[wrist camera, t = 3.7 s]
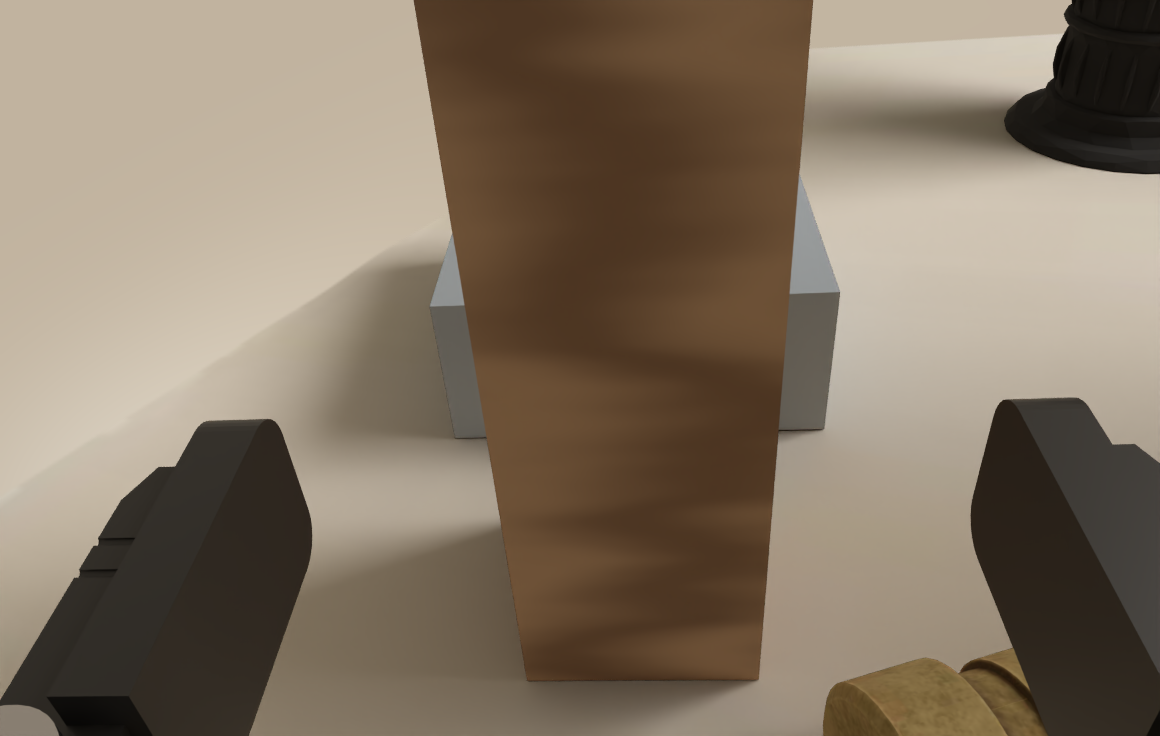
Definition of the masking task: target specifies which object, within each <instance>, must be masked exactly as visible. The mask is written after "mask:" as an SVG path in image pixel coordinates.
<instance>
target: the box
mask: <svg viewBox="0 0 1160 736" xmlns="http://www.w3.org/2000/svg"><path fill="white" fill-rule="evenodd" d="M839 298H840V290H839V287H838V284H837V281H836V278H835V276H834V273H833V270H832V267H831V264H830V261H829V258H828V255H827V252H826V249H825V247H824V244H823V241H822V238H821V235H820V232H819V229H818V226H817V223H816V220H815V218H814V215H813V212H812V209H811V206H810V203H809V200H808V197H807V194H806V191H805V189H804V186H803V183H802V180H801V177H800V174H799V182H798V195H797V207H796V219H795V232H794V244H793V257H792V269H791V282H790V294H789V307H788V319H787V332H786V344H785V357H784V369H783V381H782V394H781V406H780V419H779V430H800V429H824V426H825V418H826V409H827V400H828V392H829V383H830V375H831V366H832V358H833V349H834V341H835V332H836V324H837V315H838V307H839ZM430 311H431V317H432V322H433V327H434V332H435V337H436V342H437V347H438V353H439V358H440V363H441V368H442V373H443V378H444V383H445V389H446V394H447V399H448V404H449V409H450V414H451V419H452V425H453V430H454V435H455V438H477V437H486V431H485V425H484V419H483V413H482V407H481V401H480V395H479V389H478V383H477V377H476V371H475V365H474V359H473V353H472V347H471V341H470V335H469V329H468V323H467V317H466V311H465V305H464V299H463V293H462V287H461V281H460V275H459V269H458V263H457V257H456V251H455V245H454V239H453V233H452V236H451V239H450V242H449V245H448V249H447V252H446V255H445V258H444V262H443V265H442V268H441V271H440V274H439V278H438V281H437V284H436V287H435V291H434V294H433V297H432V300H431V303H430Z"/></svg>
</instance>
